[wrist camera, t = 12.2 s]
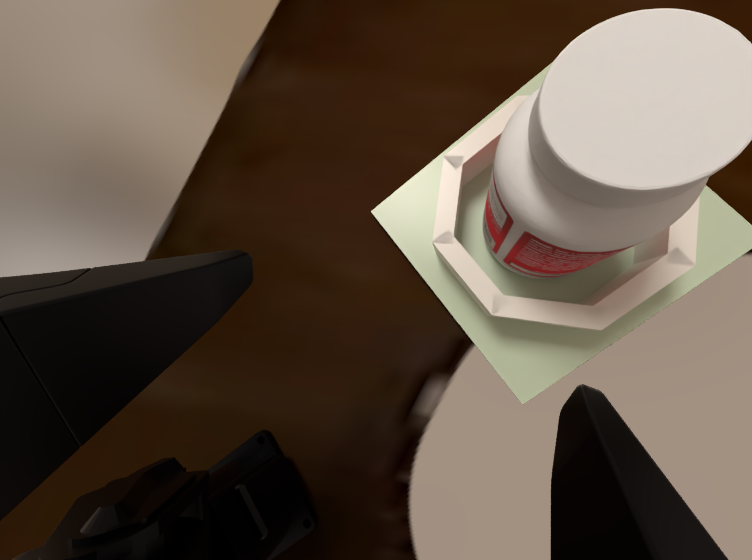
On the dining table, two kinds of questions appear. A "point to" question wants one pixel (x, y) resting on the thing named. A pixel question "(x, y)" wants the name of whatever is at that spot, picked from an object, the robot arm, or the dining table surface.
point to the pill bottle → (617, 140)
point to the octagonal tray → (544, 296)
